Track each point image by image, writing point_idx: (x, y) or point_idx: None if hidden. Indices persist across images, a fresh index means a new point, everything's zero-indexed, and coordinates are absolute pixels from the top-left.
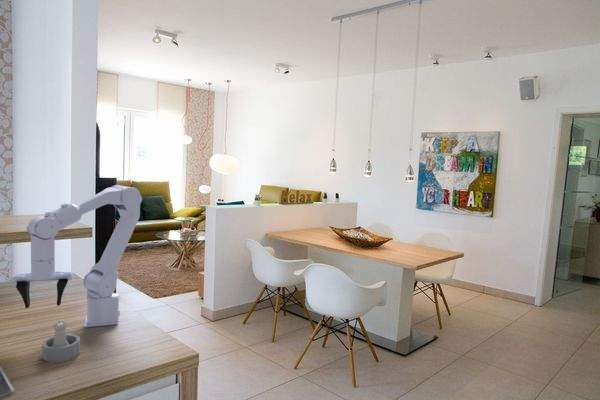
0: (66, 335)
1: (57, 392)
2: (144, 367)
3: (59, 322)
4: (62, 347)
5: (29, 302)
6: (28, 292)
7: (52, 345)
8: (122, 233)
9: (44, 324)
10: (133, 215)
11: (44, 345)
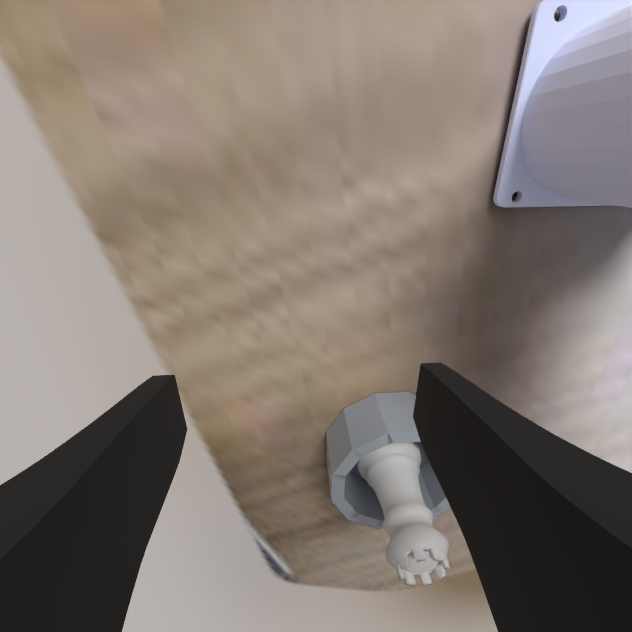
0: (418, 440)
1: (386, 587)
2: None
3: (419, 553)
4: None
5: (164, 409)
6: (99, 529)
7: (364, 473)
8: None
9: (255, 66)
10: None
11: (341, 505)
